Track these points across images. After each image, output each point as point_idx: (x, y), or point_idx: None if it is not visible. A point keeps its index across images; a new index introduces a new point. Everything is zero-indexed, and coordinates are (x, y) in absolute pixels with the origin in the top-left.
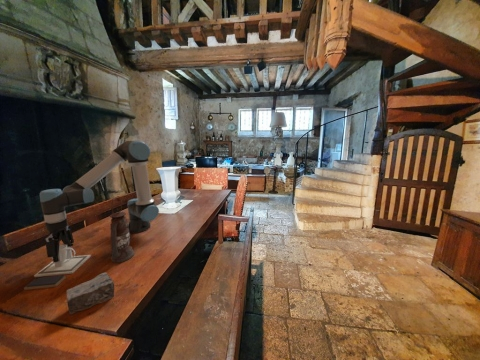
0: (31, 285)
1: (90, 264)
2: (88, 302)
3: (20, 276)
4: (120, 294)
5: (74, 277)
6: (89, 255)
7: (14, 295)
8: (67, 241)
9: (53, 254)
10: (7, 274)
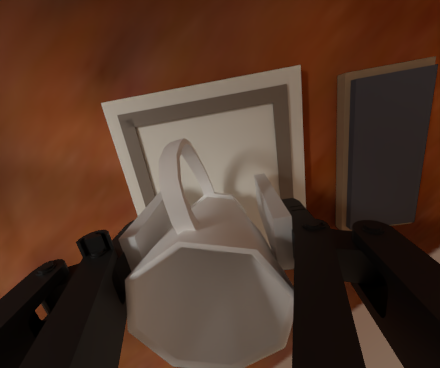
0: (416, 197)
1: (197, 13)
2: None
3: None
4: None
5: (344, 9)
6: (108, 106)
7: (432, 225)
8: (90, 317)
9: (402, 240)
10: (274, 360)
